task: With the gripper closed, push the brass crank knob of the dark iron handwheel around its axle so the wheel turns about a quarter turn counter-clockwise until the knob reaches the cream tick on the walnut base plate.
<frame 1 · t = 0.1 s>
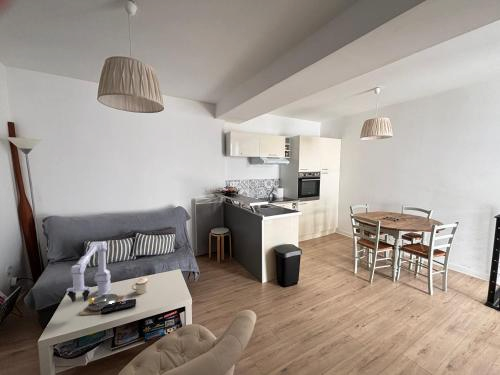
hand: (79, 301, 141), 10 cm above the table, fingers open, 7 cm apart
handwheel: (103, 299, 152), point 5 cm above the table, hinge at 0.0°
teacup with lid: (140, 291, 170), on the table
base plate: (103, 305, 152), on the table
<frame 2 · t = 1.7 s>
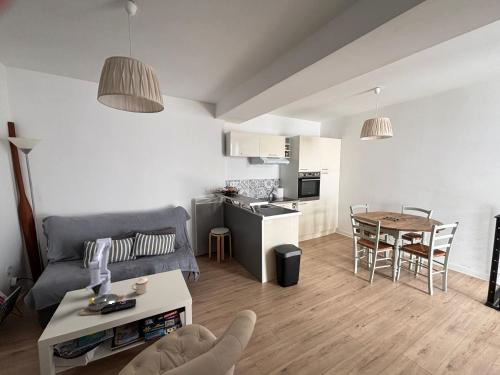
hand: (96, 294, 154), 7 cm above the table, fingers closed
nothing on the table moved.
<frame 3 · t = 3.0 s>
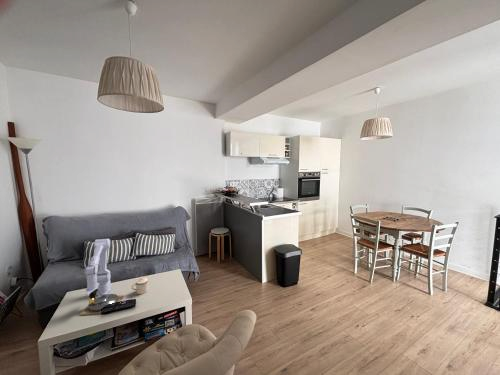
hand: (93, 300, 151), 5 cm above the table, fingers closed
handwheel: (103, 299, 152), point 5 cm above the table, hinge at 0.0°, touching gripper
everything else where it was.
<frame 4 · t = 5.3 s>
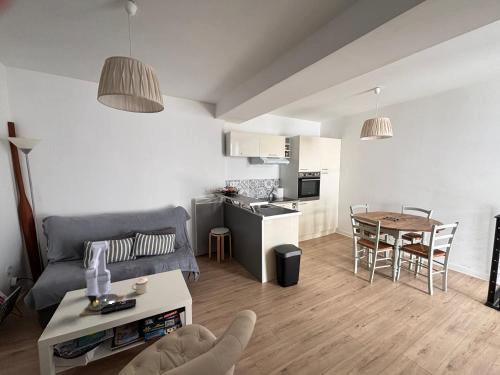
hand: (93, 304, 146), 5 cm above the table, fingers closed
handwheel: (103, 299, 152), point 5 cm above the table, hinge at 48.6°, touching gripper
everything else where it was.
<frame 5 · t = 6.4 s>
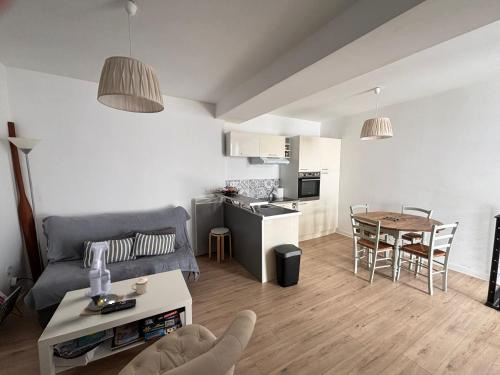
hand: (96, 304, 145), 5 cm above the table, fingers closed
handwheel: (103, 299, 152), point 5 cm above the table, hinge at 73.5°, touching gripper
everything else where it was.
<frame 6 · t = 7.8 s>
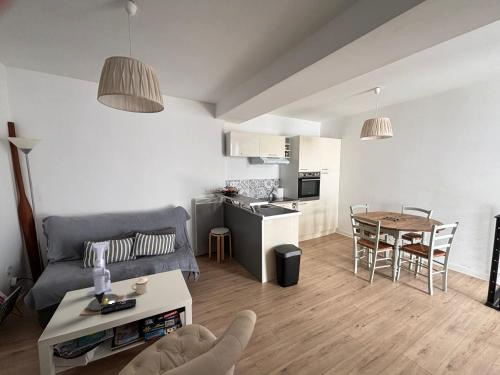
hand: (100, 302, 145), 6 cm above the table, fingers closed
handwheel: (103, 299, 152), point 5 cm above the table, hinge at 97.5°
everything else where it was.
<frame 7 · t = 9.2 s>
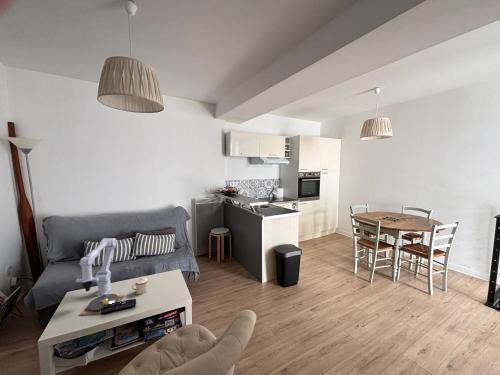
hand: (88, 290, 153), 10 cm above the table, fingers closed
nothing on the table moved.
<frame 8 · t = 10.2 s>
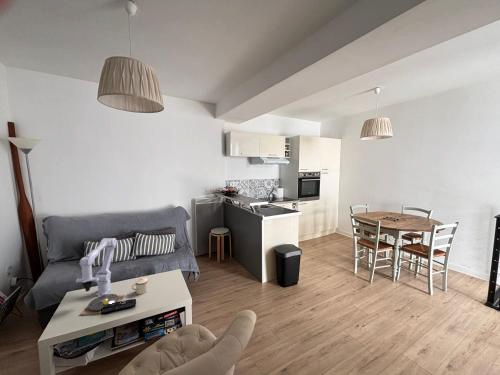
hand: (88, 290, 153), 10 cm above the table, fingers closed
nothing on the table moved.
at the end: handwheel at +98° (first picture: +0°); teacup with lid moved 0.2 cm from its start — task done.
